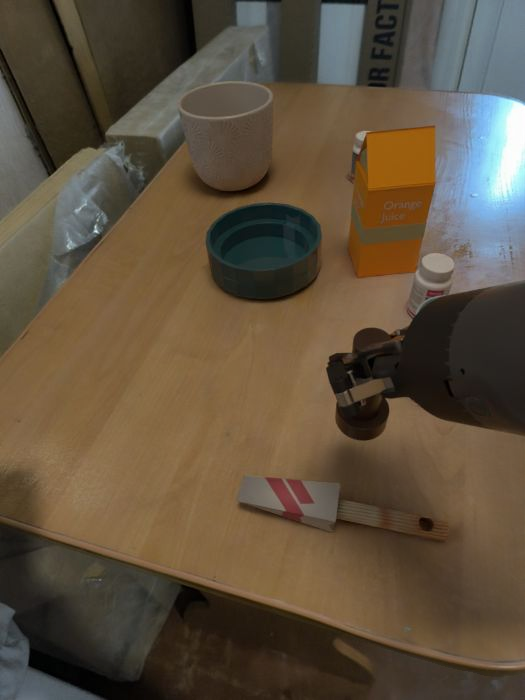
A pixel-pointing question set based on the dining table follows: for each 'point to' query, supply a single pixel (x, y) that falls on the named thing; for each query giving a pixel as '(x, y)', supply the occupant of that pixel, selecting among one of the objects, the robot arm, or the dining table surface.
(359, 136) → the pill bottle
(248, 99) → the planter
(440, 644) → the dining table surface
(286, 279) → the bowl
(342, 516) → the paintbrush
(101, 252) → the dining table surface
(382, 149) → the orange juice
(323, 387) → the dining table surface
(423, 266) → the pill bottle
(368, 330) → the grey brown flanged cylinder
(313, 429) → the dining table surface
